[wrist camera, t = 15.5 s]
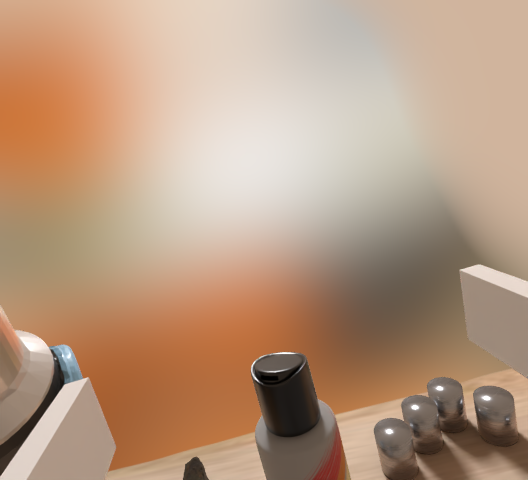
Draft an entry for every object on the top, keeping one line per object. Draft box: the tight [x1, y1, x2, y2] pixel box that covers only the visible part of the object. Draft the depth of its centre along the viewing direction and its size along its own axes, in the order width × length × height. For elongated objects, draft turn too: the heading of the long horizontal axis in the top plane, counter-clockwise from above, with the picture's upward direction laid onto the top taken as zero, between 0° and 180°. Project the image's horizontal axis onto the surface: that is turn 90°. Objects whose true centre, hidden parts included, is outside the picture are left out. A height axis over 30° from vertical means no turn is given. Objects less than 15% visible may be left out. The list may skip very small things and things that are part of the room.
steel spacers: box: [374, 377, 518, 480], centre depth 37 cm, size 18×12×4 cm, turn 82°
